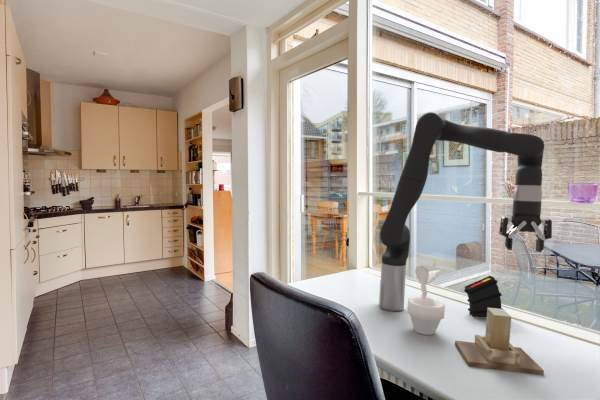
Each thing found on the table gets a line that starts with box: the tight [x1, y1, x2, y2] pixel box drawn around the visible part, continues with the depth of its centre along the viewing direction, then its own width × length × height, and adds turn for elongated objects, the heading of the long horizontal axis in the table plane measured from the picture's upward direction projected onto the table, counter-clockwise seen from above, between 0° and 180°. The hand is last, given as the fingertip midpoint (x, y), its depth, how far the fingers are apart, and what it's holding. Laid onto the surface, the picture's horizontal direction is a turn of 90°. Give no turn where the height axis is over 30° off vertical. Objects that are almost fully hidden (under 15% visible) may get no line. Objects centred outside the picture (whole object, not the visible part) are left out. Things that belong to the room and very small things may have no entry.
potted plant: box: [406, 259, 446, 336], centre depth 113 cm, size 13×12×25 cm
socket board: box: [454, 334, 545, 376], centre depth 96 cm, size 18×13×4 cm
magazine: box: [463, 275, 503, 318], centre depth 130 cm, size 4×13×15 cm, turn 92°
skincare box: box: [484, 308, 512, 351], centre depth 96 cm, size 6×4×12 cm
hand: (523, 250), depth 110 cm, fingers open, 8 cm apart
